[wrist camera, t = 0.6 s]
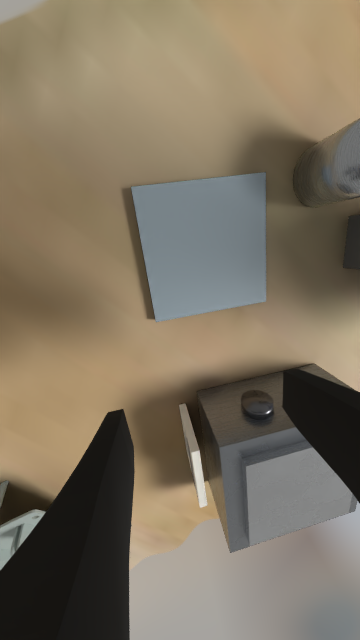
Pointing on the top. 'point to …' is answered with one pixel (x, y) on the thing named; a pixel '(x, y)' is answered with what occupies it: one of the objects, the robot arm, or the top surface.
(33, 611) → the robot arm
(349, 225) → the rubber block
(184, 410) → the label tile
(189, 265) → the pad
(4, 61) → the top surface
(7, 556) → the metal bracket
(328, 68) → the top surface
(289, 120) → the top surface
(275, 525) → the box
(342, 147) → the cylinder
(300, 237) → the top surface
